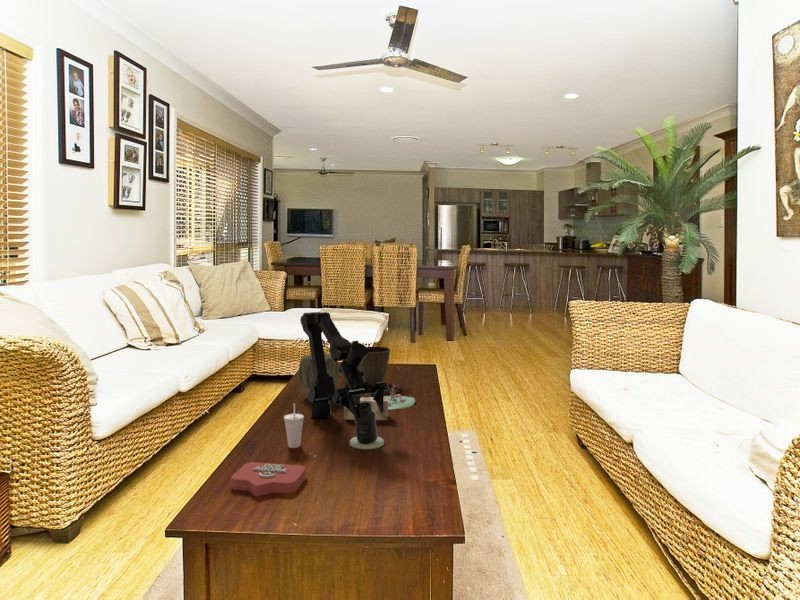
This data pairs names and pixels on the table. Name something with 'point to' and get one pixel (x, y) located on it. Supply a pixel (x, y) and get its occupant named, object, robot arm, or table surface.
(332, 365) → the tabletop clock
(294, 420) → the smoothie
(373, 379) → the plant pot
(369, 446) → the green pad
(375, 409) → the block
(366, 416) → the supplement bottle
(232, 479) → the plaque
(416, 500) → the table surface
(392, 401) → the decorated green tray
